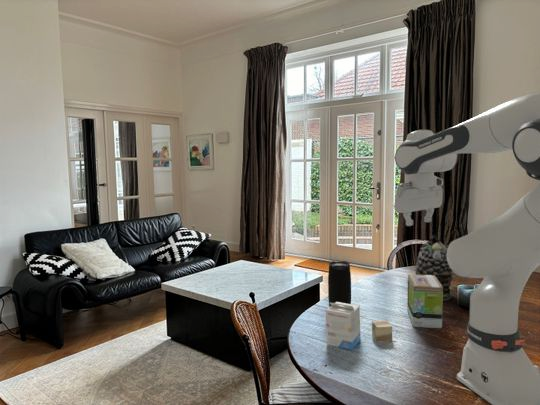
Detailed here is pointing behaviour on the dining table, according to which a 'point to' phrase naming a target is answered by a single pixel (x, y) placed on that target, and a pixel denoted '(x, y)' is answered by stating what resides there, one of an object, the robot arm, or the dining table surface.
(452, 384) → the dining table surface
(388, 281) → the dining table surface
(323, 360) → the dining table surface
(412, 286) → the tea box
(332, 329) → the ink box
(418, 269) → the pine cone
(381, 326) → the oak cube
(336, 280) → the portable speaker
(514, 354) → the robot arm
